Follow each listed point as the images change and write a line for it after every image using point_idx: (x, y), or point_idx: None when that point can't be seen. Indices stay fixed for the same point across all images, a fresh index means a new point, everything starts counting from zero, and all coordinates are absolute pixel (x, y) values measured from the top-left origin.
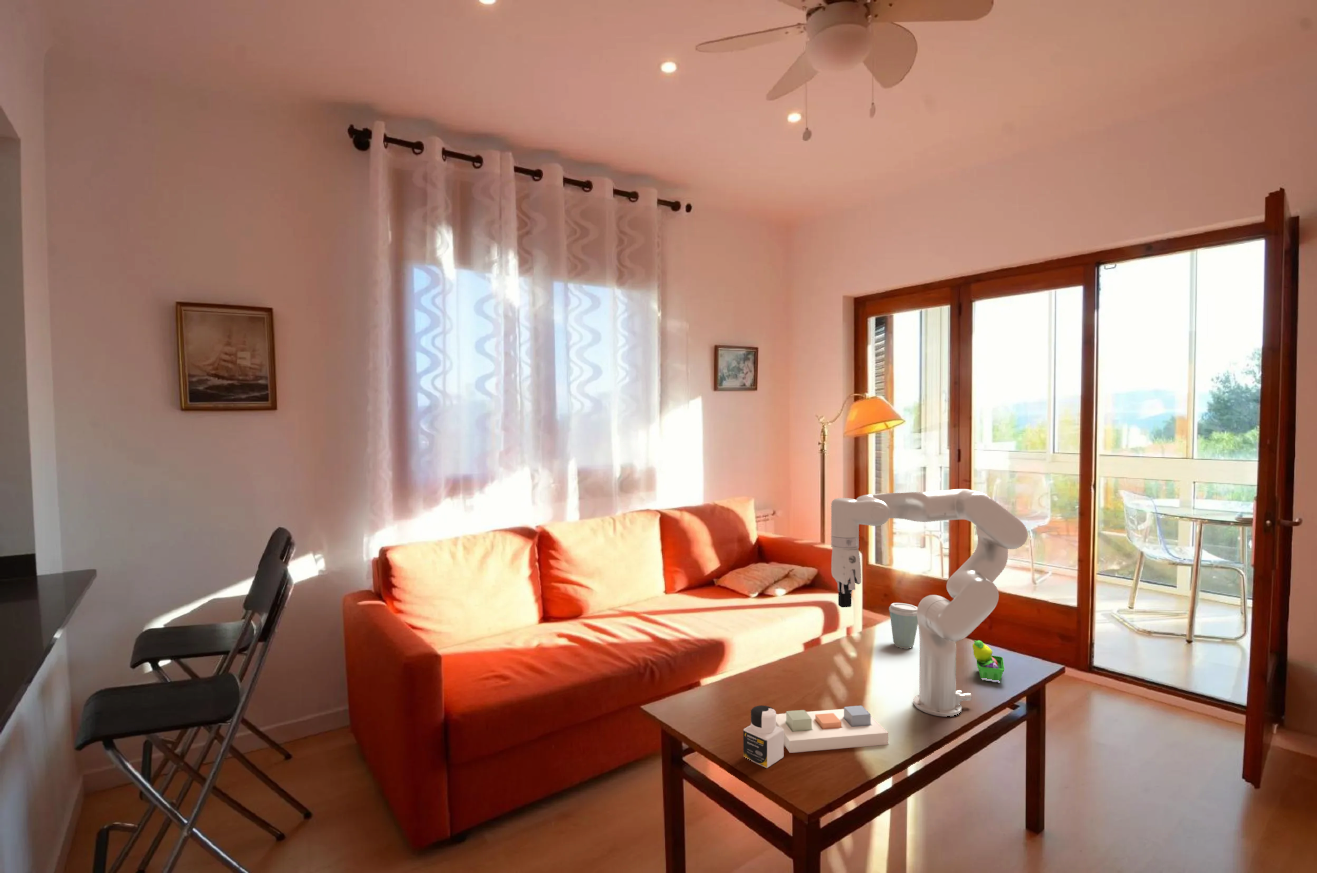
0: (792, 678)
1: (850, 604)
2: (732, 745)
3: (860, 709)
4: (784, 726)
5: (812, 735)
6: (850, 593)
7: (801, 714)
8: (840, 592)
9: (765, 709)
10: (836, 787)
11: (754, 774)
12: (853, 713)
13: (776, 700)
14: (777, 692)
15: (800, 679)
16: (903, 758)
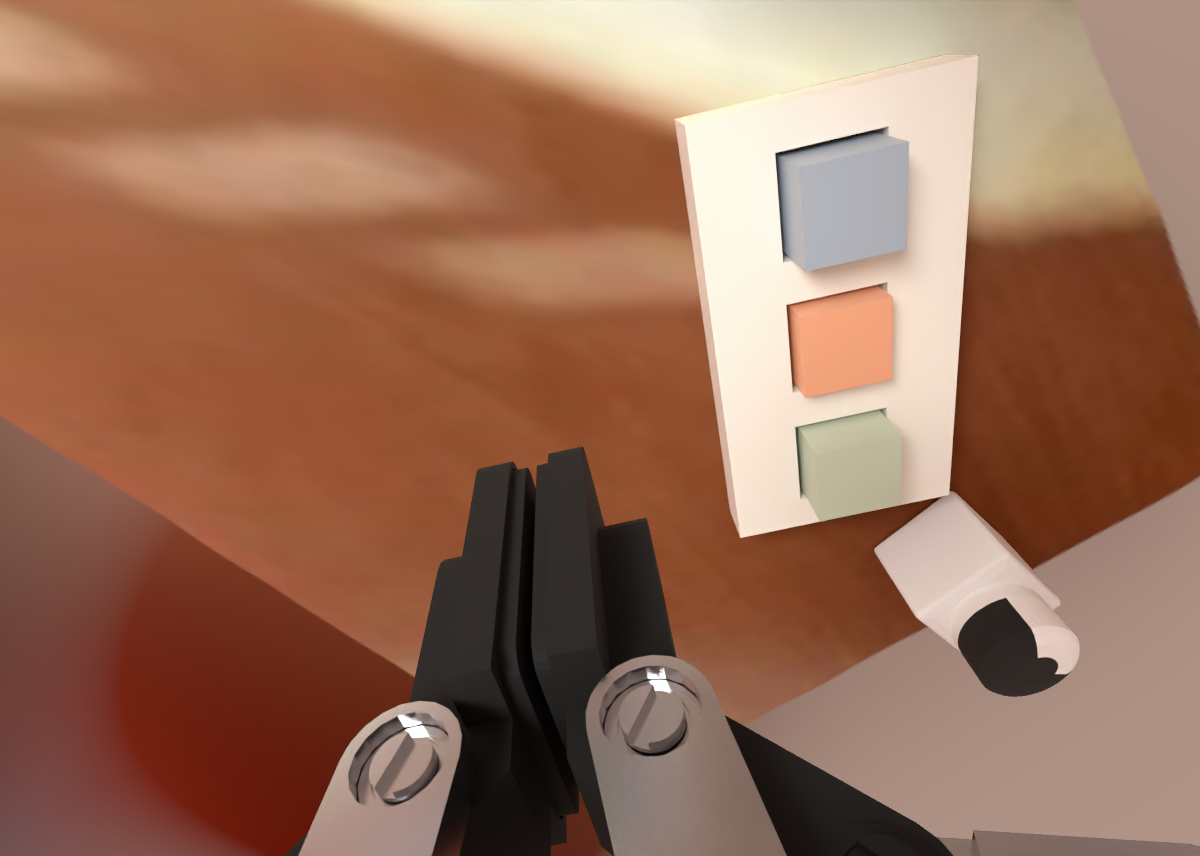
0: (240, 397)
1: (588, 479)
2: (849, 615)
3: (845, 186)
4: None
5: (927, 415)
6: (604, 655)
7: (857, 470)
8: (560, 821)
9: (1043, 666)
10: (1168, 353)
11: None
12: (884, 237)
13: None
14: (427, 472)
15: (240, 360)
16: (1079, 14)
